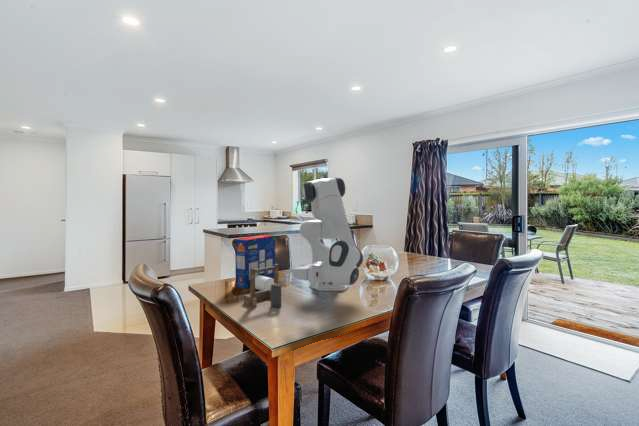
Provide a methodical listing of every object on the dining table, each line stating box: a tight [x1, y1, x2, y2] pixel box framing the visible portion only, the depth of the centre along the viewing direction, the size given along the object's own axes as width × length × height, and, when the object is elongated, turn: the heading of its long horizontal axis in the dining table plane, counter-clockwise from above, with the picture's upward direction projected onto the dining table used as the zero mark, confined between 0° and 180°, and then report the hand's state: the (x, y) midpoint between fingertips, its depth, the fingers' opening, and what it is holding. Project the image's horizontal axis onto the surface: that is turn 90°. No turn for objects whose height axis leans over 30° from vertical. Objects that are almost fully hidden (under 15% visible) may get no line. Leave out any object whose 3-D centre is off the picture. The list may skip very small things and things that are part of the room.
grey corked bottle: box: [270, 283, 282, 309], centre depth 152 cm, size 5×5×11 cm
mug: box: [255, 275, 274, 291], centre depth 179 cm, size 12×10×8 cm
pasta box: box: [234, 234, 276, 290], centre depth 194 cm, size 28×8×28 cm, turn 153°
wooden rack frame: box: [243, 263, 279, 308], centre depth 158 cm, size 8×16×18 cm, turn 136°
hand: (296, 267), depth 145 cm, fingers open, 8 cm apart
